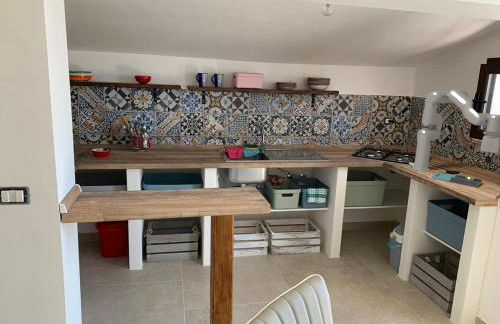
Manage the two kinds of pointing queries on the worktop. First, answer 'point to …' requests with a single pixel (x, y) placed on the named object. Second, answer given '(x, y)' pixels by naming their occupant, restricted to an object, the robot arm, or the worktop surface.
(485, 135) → the robot arm
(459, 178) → the slot plate
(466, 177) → the brass puck
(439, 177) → the tray
